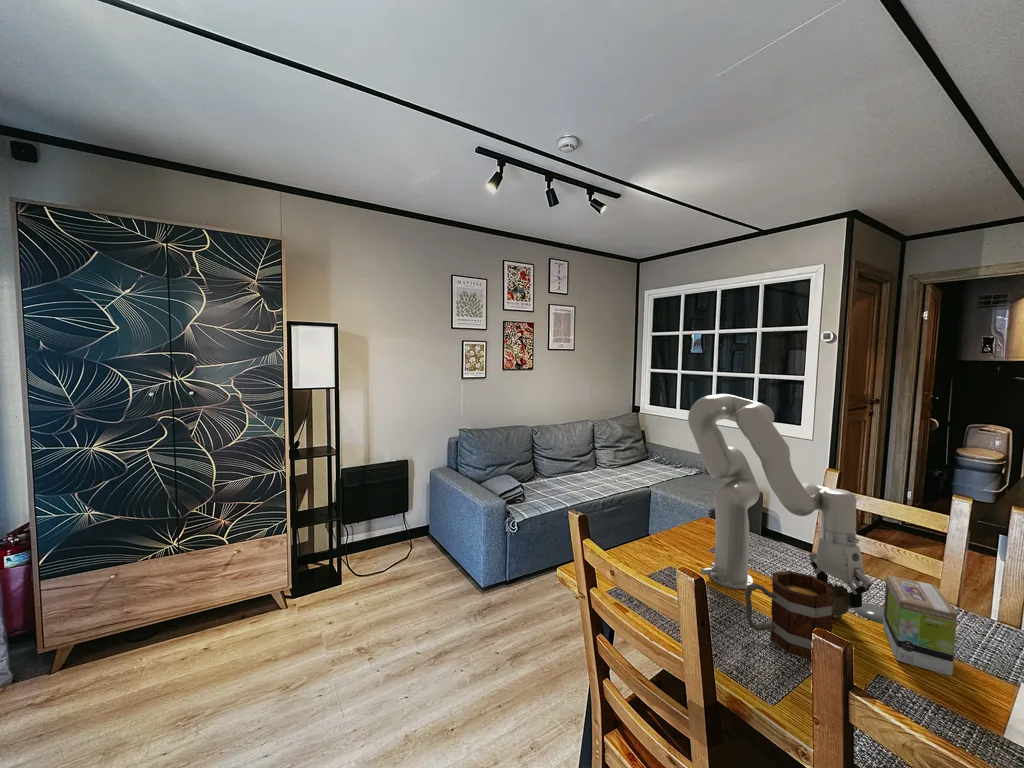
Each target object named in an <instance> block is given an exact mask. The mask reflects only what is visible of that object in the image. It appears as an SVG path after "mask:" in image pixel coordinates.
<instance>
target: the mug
mask: <svg viewBox="0 0 1024 768" xmlns="http://www.w3.org/2000/svg"><path fill="white" fill-rule="evenodd" d="M771 579H772V580H771V582H772V591H768V590H767V589H766V588H765V587H764V585H762V584H758V583H756V582H755V583H754V582H753V584H751V585H748V587H747V589H745V592H744V593H745V594H744V595H745V614H746V617H745V618H746V621H747V623H748V625H749V626H750V627H749V628H751V629H753V630H755V631H757V632H760V631H770V634H769V635H770V640H771V641H772V642H774V643H775V644H776V645H777V646H778V647H780V648H781V649H782V650H783V651H784V652H786V653H787V654H790V655H793V656H796V657H800V658H803V659H806V660H810V661H812V660H811V642H812V633H813V630H814V629H815V628H821V629H824V630H827V631H829V632H831V633H833V619H832V605H833V600H834V594H833V589H832V586H830V585H828V584H829V583H828V584H826V583H825V582H823V581H821V580H819V579H817V578H816V576H813V575H811V574H804V573H800V572H796V571H791V570H785V571H778V572H777V571H776V572H772V578H771ZM755 590H760V591H761V592H762V593H763V594H764V595H765V596H767V597H768V598H770V599H771V608H770V609H771V610H770V611H771V622H765V623H758V624H756V623H754V622H753V619H752V618H753V616H752V615H753V613H752V612H753V611H752V610H753V604H752V600H751V599H752V598H751V597H752V593H753V591H755Z"/></svg>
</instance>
